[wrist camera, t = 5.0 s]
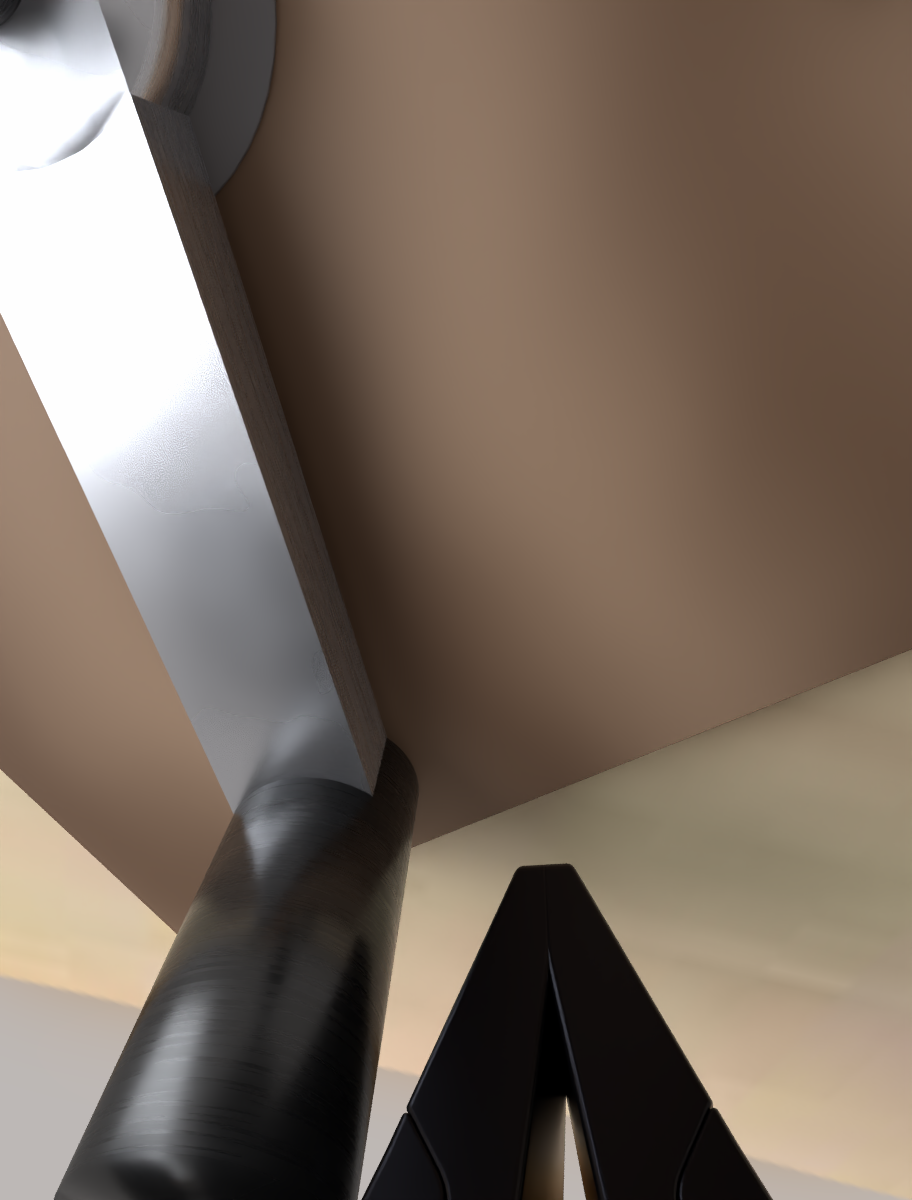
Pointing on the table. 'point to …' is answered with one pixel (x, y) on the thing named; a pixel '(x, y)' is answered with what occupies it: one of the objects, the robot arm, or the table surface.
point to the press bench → (520, 395)
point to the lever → (206, 618)
